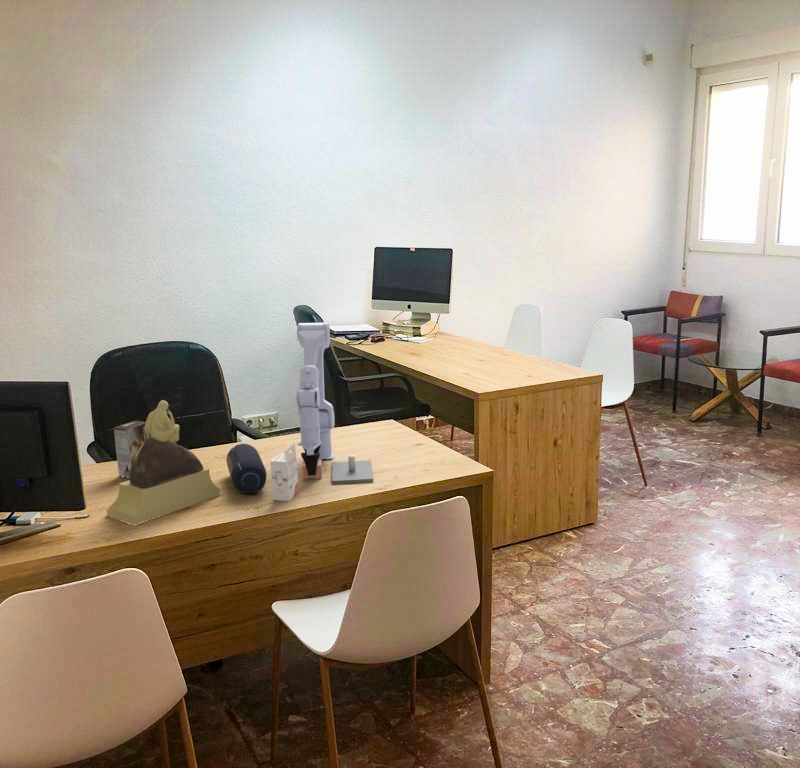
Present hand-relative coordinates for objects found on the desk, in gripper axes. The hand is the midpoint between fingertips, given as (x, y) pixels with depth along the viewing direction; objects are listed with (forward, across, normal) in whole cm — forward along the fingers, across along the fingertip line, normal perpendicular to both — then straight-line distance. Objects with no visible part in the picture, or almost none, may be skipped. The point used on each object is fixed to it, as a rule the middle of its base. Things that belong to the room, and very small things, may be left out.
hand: (312, 471), depth 251 cm
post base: (+1, 0, +12) cm, 12 cm away
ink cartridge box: (+2, +17, -7) cm, 18 cm away
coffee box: (+2, -11, -55) cm, 56 cm away
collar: (+1, 0, 0) cm, 1 cm away
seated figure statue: (+2, +19, -40) cm, 45 cm away
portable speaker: (+2, +4, -19) cm, 20 cm away
